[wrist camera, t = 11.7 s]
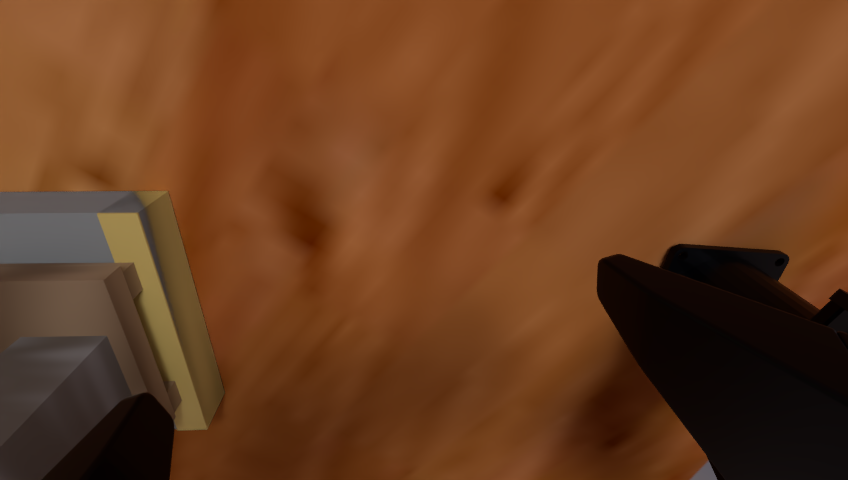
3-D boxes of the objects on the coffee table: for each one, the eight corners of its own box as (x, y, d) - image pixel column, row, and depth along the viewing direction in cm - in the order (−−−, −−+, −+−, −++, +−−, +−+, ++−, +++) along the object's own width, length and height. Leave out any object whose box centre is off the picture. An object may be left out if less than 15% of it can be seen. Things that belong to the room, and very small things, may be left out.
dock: (168, 191, 20) (136, 213, 17) (224, 392, 25) (207, 429, 23) (-153, 193, 19) (-231, 216, 17) (-18, 399, 25) (-61, 438, 22)
